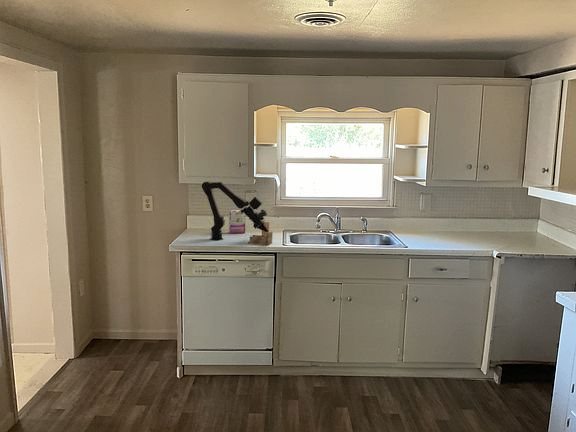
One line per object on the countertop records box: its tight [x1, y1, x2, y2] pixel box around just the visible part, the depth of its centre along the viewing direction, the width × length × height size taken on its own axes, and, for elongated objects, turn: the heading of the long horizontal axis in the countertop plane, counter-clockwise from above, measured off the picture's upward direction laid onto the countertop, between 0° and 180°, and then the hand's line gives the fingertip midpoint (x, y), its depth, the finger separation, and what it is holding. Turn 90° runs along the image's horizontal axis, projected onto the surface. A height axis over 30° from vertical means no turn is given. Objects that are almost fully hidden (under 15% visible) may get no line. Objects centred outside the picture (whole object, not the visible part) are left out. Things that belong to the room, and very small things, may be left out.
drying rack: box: [247, 231, 273, 246], centre depth 308 cm, size 14×8×8 cm, turn 73°
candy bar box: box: [228, 209, 246, 235], centre depth 340 cm, size 11×5×16 cm, turn 112°
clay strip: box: [261, 220, 271, 236], centre depth 315 cm, size 5×2×13 cm, turn 88°
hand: (267, 231), depth 315 cm, fingers closed on clay strip, 3 cm apart
